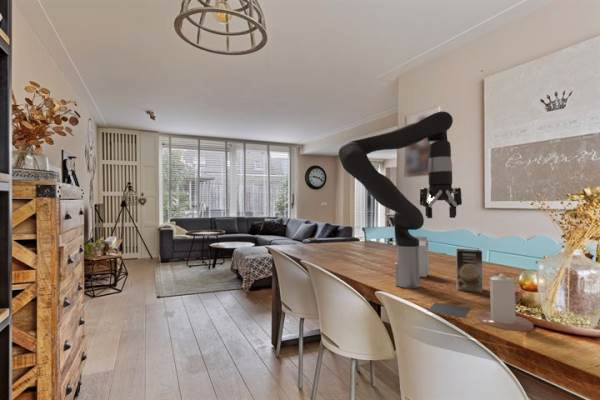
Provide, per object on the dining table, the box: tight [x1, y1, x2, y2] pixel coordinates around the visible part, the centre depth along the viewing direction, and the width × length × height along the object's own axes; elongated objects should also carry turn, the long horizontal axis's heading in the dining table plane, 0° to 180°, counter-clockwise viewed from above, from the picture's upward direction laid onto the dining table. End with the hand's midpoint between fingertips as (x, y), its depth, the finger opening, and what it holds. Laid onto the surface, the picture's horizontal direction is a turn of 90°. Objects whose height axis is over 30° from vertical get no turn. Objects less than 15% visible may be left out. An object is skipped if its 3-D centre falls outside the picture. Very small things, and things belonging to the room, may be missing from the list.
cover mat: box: [427, 302, 472, 319], centre depth 103 cm, size 11×11×1 cm
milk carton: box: [412, 235, 430, 278], centre depth 156 cm, size 7×7×19 cm
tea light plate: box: [475, 311, 534, 333], centre depth 92 cm, size 14×14×3 cm
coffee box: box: [455, 248, 483, 293], centre depth 129 cm, size 9×6×16 cm
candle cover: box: [489, 273, 517, 324], centre depth 92 cm, size 6×6×13 cm
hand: (441, 218), depth 109 cm, fingers open, 8 cm apart
